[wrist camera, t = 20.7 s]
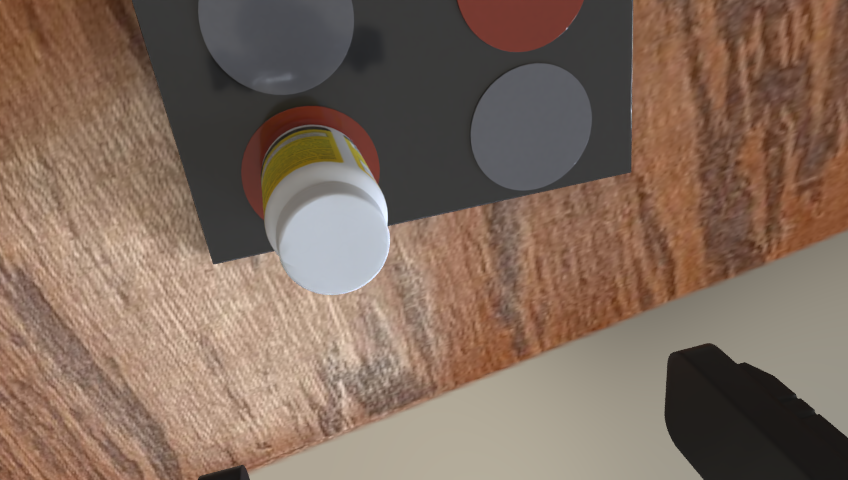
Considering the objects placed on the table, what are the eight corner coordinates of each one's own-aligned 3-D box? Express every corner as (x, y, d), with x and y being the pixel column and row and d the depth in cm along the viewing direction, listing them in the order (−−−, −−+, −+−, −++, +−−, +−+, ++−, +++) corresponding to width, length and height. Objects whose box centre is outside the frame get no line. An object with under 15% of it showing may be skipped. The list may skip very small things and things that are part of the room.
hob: (120, -53, 26) (114, -53, 25) (621, -124, 30) (636, -126, 28) (214, 254, 32) (213, 266, 31) (620, 165, 36) (632, 173, 35)
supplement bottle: (243, 195, 30) (242, 277, 23) (287, 104, 29) (301, 159, 21) (336, 234, 32) (363, 321, 24) (381, 150, 31) (424, 215, 23)
